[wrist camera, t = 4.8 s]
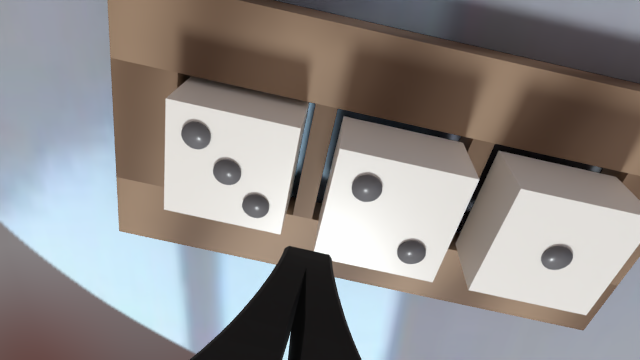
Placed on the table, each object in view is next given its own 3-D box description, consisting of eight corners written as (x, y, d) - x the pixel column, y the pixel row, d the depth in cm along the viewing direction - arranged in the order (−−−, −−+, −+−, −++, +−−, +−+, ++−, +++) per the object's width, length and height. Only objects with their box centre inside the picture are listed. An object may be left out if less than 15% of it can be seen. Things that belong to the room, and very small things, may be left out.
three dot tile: (309, 99, 18) (300, 129, 16) (290, 196, 21) (279, 236, 18) (193, 73, 18) (164, 99, 16) (188, 174, 21) (162, 210, 18)
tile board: (718, 101, 17) (746, 115, 16) (571, 308, 24) (583, 330, 22) (125, -34, 17) (106, -30, 16) (133, 213, 23) (119, 231, 22)
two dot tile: (463, 142, 18) (479, 180, 15) (424, 237, 20) (432, 284, 18) (343, 115, 18) (339, 150, 15) (319, 214, 20) (312, 258, 18)
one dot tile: (616, 176, 18) (659, 220, 15) (558, 266, 20) (587, 317, 18) (498, 150, 18) (521, 190, 15) (455, 243, 20) (468, 291, 18)
